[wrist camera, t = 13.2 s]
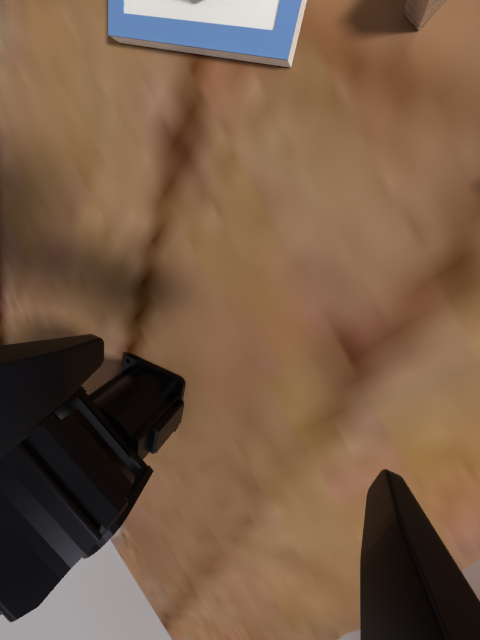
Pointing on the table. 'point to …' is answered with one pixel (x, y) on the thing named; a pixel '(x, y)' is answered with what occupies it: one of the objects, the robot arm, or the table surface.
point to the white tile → (211, 27)
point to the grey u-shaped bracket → (421, 11)
